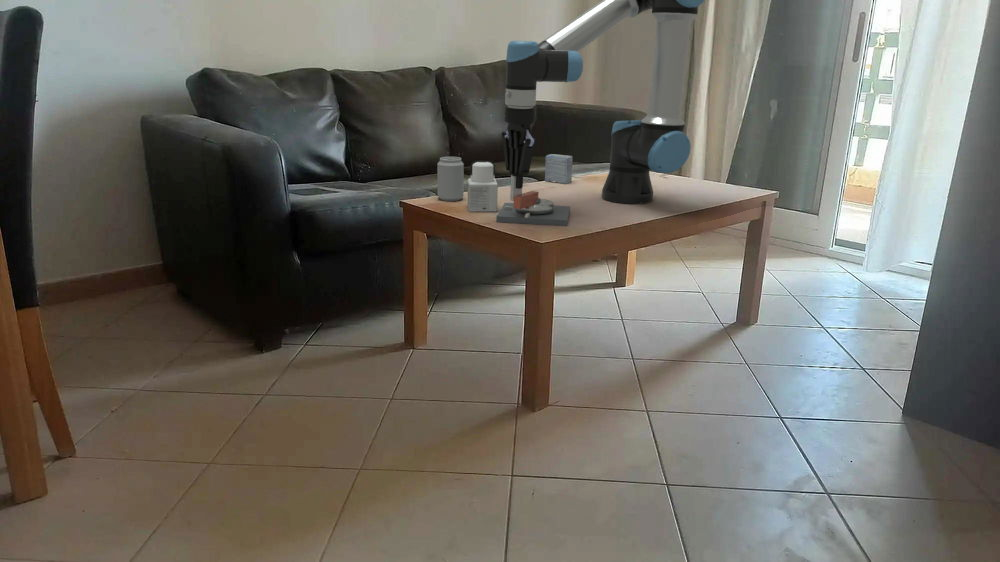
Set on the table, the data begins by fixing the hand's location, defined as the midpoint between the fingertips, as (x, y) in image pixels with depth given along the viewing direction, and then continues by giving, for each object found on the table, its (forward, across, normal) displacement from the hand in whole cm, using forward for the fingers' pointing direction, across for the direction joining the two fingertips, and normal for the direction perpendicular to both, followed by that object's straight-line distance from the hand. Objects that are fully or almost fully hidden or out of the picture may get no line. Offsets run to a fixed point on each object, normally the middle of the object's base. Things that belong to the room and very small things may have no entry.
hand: (515, 200), depth 186 cm
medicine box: (+6, -37, +40) cm, 55 cm away
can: (+6, -29, -4) cm, 30 cm away
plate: (+5, 0, +6) cm, 8 cm away
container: (+6, -15, -2) cm, 16 cm away
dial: (+3, 0, +5) cm, 6 cm away
